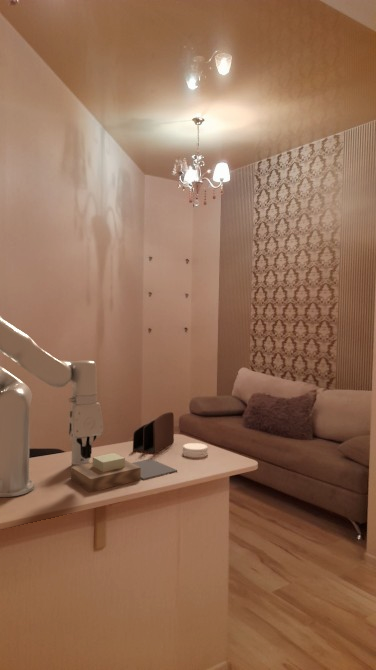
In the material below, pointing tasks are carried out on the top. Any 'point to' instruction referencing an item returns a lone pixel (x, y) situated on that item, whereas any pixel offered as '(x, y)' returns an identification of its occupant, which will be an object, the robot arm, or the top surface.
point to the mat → (153, 469)
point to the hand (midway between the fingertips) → (86, 457)
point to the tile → (108, 462)
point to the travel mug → (78, 455)
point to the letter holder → (154, 435)
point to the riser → (104, 476)
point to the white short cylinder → (195, 450)
